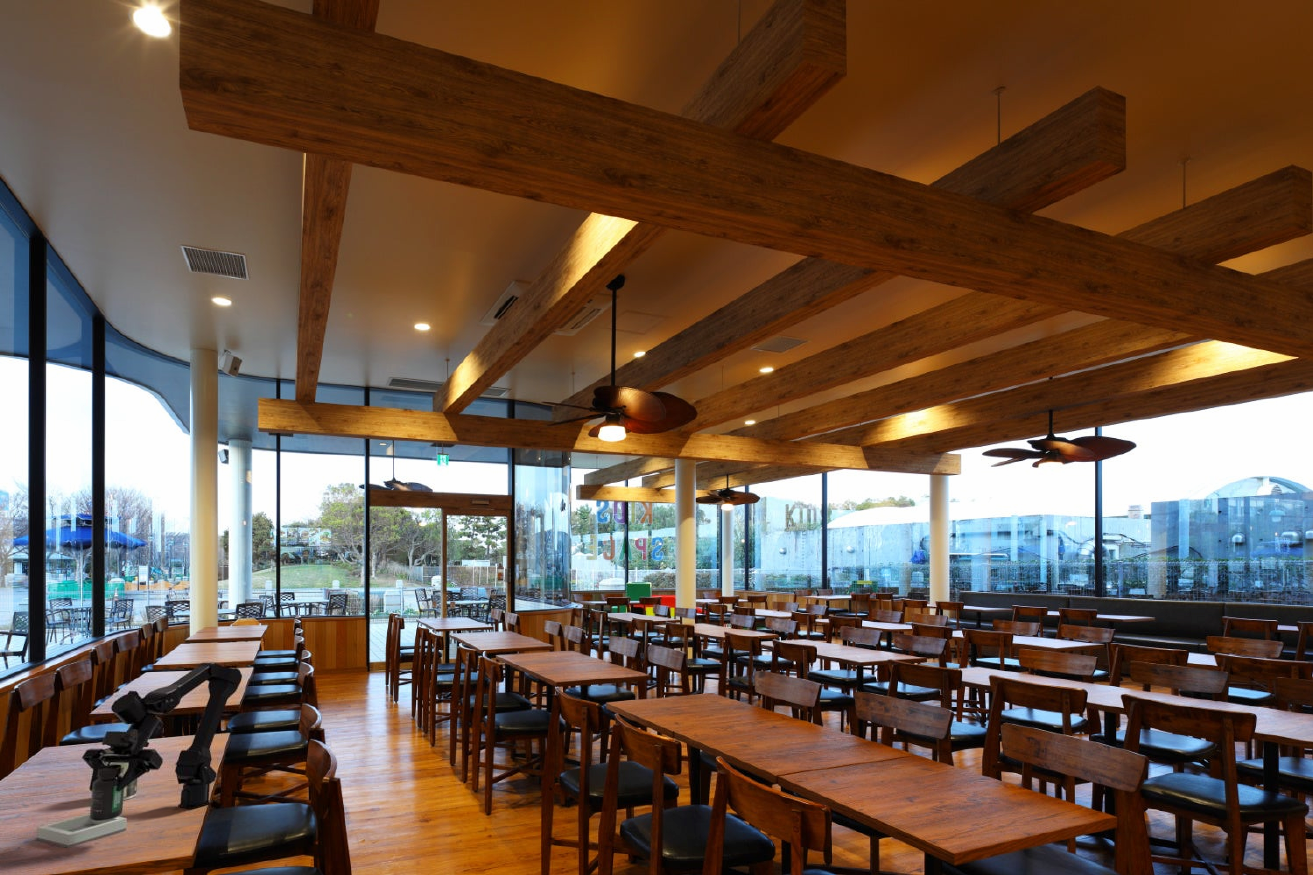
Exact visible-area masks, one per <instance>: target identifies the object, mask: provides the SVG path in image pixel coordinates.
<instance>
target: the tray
mask: <svg viewBox="0 0 1313 875" xmlns="http://www.w3.org/2000/svg"><path fill="white" fill-rule="evenodd" d="M127 821H128V818H126V817H122V816H118V817H116V818H113V819H109V820H102V821H94V820H91V819H90V812H89V813H85V814H81V815H77V816H74V817H70V818H66V819H63V820H59V821H55V822H51V823H49V824H45V825H41V826H37V829H36V838H35V839H36V841H39V842H43V843H46V844H47V843H48V844H51V843H53V845H55V844H56V846H61V847H63V848H72V846H73V847H75V846H80V845H83V844H86V843H89V842H92V841H96V840H98V839H102V838H106V837H109V836H112V835H115V834H118V833H122V832H125V831H127Z"/></svg>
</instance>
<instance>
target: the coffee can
mask: <svg viewBox="0 0 1313 875" xmlns="http://www.w3.org/2000/svg"><path fill="white" fill-rule="evenodd" d="M109 748H110V747H108V748H102V749H103V750H104V751H105V752H106V753H107V754H113V753H114V752H113V751H111V750H110V749H109ZM109 765H121V774H120V776H122V777H123V776H124V774H125V772H126V770H127V769H128V765H129V763H117V762H110V764H109ZM137 790H138V778H137V779H136V780H134V781H133V782H131V783H130V784H129V785H127V786H126V787H125V788H124V798H123V802H124V801H126V800H130V799H133V798H135V797H136V796H137Z"/></svg>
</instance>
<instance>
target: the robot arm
mask: <svg viewBox="0 0 1313 875" xmlns="http://www.w3.org/2000/svg"><path fill="white" fill-rule="evenodd" d="M242 679H243V674H242V672H241V670H240V669H239V668H237V667H227V666H224V665H220V664H218V663H216V662H202V663H199V664H198V665H197V667H195V668H194V669H192V670H190V671H189V672H188V673H186V674H185V675H183V676H182V677H180V678H179V679H177V680H176V681H174V682H173V683H171V684H169V685H167V686H163V687H159V688H156V689H154V690H151V691H150V692H147V694H146V695H145V696H144V697H141V696H140V694H139V692H138V691H137V690H129V691H128V692H127V694H126V693H125V694H124V695H122V696H120V697H118V698H117V700H114V702H113V703H112V705H111V712H113V713H114V715H115V716H117V717H118V719H119V720H120V721H122V723H123V724H125V725H129V726H128V728H127V730H126V731H117V730H116V731H110V730H109V731H106V732H105V734H104V737H103V740H102V742H101V745H103V746H108V748H109V749H110V750H111V751H113V752H114V753H113V754H107V753H106V752H105V751H104V750H103V749H104V748H89V749H86V751H85V752H84V753H83V755H82V757H81V758H82V760H83V761H84V762H85V763H86V764H87V765H88V766H89V767H90V768H91V769H92V775H91V780H90V785H89V791H90V792H92V785H93V783H94V781H95V780H96V779H98V778H99V777H98V770H99V768H100V767H103V766H107V765H109V764H110V762H117V763H129V765H128V769H127V770H126V772H125V774H124V776H123V777H122V779H121V781H120V782H119V784H118V787H117V789H116V790H117V791H121V790H122V789H124V788H125V787H126V786H127V785H129V784H130V783H131V782H133V781H134V780H136V779H137V780H138V778H140V777H142V776H143V775H145V774H146V773H150V772H151V771H154V770H155V771H158V770H159V769H160V768H161V767H162V764H163V762H164V760H163V757H162V756H161V755H160V753H159V752H158V751H157V750H156V749H155V748H148V747H149V745H150V743H149V740H150V737H151V736H152V734H153V732H154V730H156V729H161V728H163V727H164V723H163V721H162V717H158V716H157V715H156V714H159V715H163V714H164V715H166V714H167V715H168V714H170V713H171V712H173V710H175V709H176V708H177V707H178V706H179V705H180V703H181V700H182V698H184V697H185V696H186V695H188V694H189V693H190V692H192V691H193V690H195V689H196V688H197V687H199V686H200V685H202V684H203V683H205V682H208V685H207V688H208V693H209V698H208V700H207V703H206V706H205V708H204V711H203V714H202V717H201V719H200V722H199V725H198V727H197V730H196V733H195V735H194V737H193V739H192V743H191V745H190V746H189V747H188V748H187V749H182V750H181V751H180V752H179V755H178V759H177V760H176V762H175V763H174V764H175V769H174V772H175V776H176V780H177V784H178V785H182V790H181V791H180V792H181V793H180V803H179V804H177V807H179V808H184V809H188V810H193V809H197V808H201V807H203V806H207V805H210V804H212V803H213V801H212V800H210V787H211V784H212V783H213V782H215V781H216V778H217V772H216V771H215V769H213V767H212V766H211V764H212V759H213V758H212V753H211V746H212V744H213V740H214V738H215V736H216V732H217V730H218V726H219V724H220V722H221V719H222V715H223V712H224V710H225V708H226V704H227V702H228V700H229V699H230V698H231V697H232V696H233V695H234V694H235V693H236V692H237V690H238V688H239V686H240V684H241V681H242ZM209 801H211V803H210V802H209Z"/></svg>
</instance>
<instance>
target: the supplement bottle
mask: <svg viewBox="0 0 1313 875" xmlns="http://www.w3.org/2000/svg"><path fill="white" fill-rule="evenodd" d="M120 774H121V765H107V766H103V767H100V768H99V770H98V777H99V778H98V779H96V780H95V781H94V783H93V785H92V791H91V797H90V798H91V799H90V810H89V811H90V812H89V813H90V819H91V820H94V821H102V820H109V819H113V818H116V817H121V815H122V814H123V811H124V810H123V809H124V801H123V798H124V789H122V790H121V791H117V790H116V789H117V787H118V784H119V782H120V781H121V779H122V776H120Z"/></svg>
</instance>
